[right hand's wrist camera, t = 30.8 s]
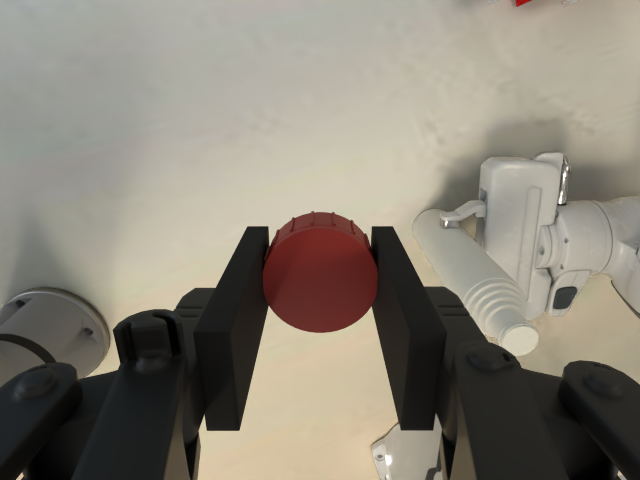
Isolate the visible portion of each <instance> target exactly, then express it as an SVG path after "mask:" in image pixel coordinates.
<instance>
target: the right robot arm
mask: <svg viewBox="0 0 640 480" xmlns="http://www.w3.org/2000/svg"><path fill="white" fill-rule="evenodd" d="M268 246H269V231H268V226H248V227H247V228H246V230H245V232H244V234H243V236H242V238H241V240H240V242H239V244H238V246H237V248H236V250H235V252H234V254H233V256H232V258H231V259H230V261H229V263H228V265H227V267H226V269H225V271H224V273H223V275H222V277H221V279H220V281H219V283H218V285H217V287H216V288H195V289H193V290H192V291H190V292H189V293H187V294H186V295H184V296H183V297H182V299H181V300H180V302H179V303H178V305H177V306H176V309H174V311H170V310H166V309H154V310H148V311H143V312H139V313H137V314H134V315H131V316H129V317H127V318H126V319H124V320H123V321H121V322H119V323H118V325H117V326H116V327H115V328H114V329H113V333H114V337H115V342H116V346H117V350H118V355H119V359H120V363H121V364H120V366H119V368H118V370H116V371H113V372H109V373H105V374H101V375H96V376H91V377H86V376H88V375H89V374H90V373H92V372H93V371H94V370H95V369H96V368H97V367H98V366H99V365H100V363H101V362H102V361H103V360H104V358H105V357H106V355H107V353H108V350H109V344H110V339H109V332H108V329H107V326H106V324H105V322H104V320H103V319H102V317H101V316H100V315H99V313H98V312H97V311H96V310H95V309H94V308H93V307H92V306H91V305H90V304H89V303H87V302H86V301H85V300H83V299H82V298H80V297H78V296H76V295H74V294H72V293H69V292H67V291H64V290H60V289H56V288H45V287H43V288H34V289H29V290H26V291H24V292H22V293H20V294H18V295H17V296H15V297H14V298H13V299H11V300H10V301H8V302H7V303H6V304H5V305H4V306H3V307H2V308H1V310H0V480H16V479H17V478H18V476H19V475H20V474H21V473H23V475H24V477H23V478H22V479H21V480H197V478H198V468H199V459H200V449H201V445H200V438H199V432H198V431H199V428H200V425H201V422H202V419H203V416H204V414H205V420H206V427H207V431H239V430H240V426H241V422H242V417H243V413H244V409H245V405H246V400H247V396H248V392H249V387H250V383H251V379H252V375H253V370H254V366H255V362H256V357H257V353H258V349H259V345H260V340H261V336H262V332H263V327H264V323H265V319H266V315H267V310H268V306H269V305H268V303H267V301H266V299H265V296H264V289H263V268H264V264H265V262H264V258H265V255H266V252H267V249H268ZM371 249H372V252H373V256H374V259H375V262H376V265H377V269H378V277H377V293H376V298H375V300H374V302H373V304H372V309H373V314H374V318H375V322H376V326H377V331H378V335H379V339H380V344H381V348H382V352H383V356H384V361H385V365H386V369H387V373H388V378H389V382H390V386H391V391H392V395H393V399H394V403H395V408H396V412H397V416H398V421H399V425H400V429H401V431H433V429H434V422H435V415H436V414H437V417H438V419H439V422H440V425H441V428H442V432H441V438H440V445H439V451H438V458H437V465H436V471H437V472H441V467H442V477H443V480H621V479H620V478H619V477H618V475H617V474H618V471H620V472H621V473H622V474H623V475H624V477H625V478H626V479H627V480H640V385H639V384H638V383H637V382H636V381H634V380H633V379H632V378H630V377H629V376H627V375H626V374H624V373H623V372H621V371H619V370H616V369H614V368H612V367H610V366H608V365H605V364H600V363H597V362H592V361H581V360H580V361H575V362H570V363H569V364H568V365H567V366H565V367H564V370H563V374H562V377H557V376H553V375H548V374H543V373H538V372H534V371H530V370H526V369H523V368H521V365H520V363H519V362H518V360H517V359H516V358H515V356H514V355H513V354H511V353H510V352H509V351H507V350H506V349H504V348H502V347H500V346H498V345H495V344H493V343H489V342H488V341H487V339H486V338H485V336H484V335H483V333H482V332H481V330H480V329H479V327H478V326H477V324H476V322H475V321H474V319H473V318H472V316H470V313H469V312H468V310H467V309H466V308H465V307H464V304H463V303H462V301H461V300H460V298H459V297H458V295H456V294H455V293H454V292H452V291H451V290H449V289H448V288H446V287H424V286H423V284H422V282H421V280H420V278H419V276H418V274H417V273H416V271H415V269H414V267H413V265H412V263H411V261H410V259H409V257H408V255H407V253H406V251H405V249H404V247H403V245H402V243H401V242H400V240H399V238H398V236H397V234H396V232H395V230H394V228H393V226H372V235H371ZM85 377H86V378H85Z"/></svg>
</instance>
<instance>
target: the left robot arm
mask: <svg viewBox="0 0 640 480" xmlns="http://www.w3.org/2000/svg"><path fill="white" fill-rule="evenodd" d="M562 163H563V164H562ZM570 174H571V164H568V160H567V157H566V156H565V155H564V154H563V153H561V152H559V151H547V152H540V153H538V154H536V155H534V156H533V157H532V158H525V157H511V156H497V157H490V158H488V159H487V160H486V161H485V162H483V163H482V165H481V170H480V185H479V199H478V200H471V201H468V202H466V203H465V204H463V205H462V206H460V207H459V208H457V209H456V210H455V211H450V212H441V213H440V226H441V227H442V228H443V229H449V228H459V221H461V220H463V219H465V218H467V217H468V216H470V215H472V214H473V215H474V216H475V217H477V228H476V242H477V243H478V244H479V245H480V246H481V247H482V248H483V250H484V251H485V252H486V253H487V254H488V255H489V256H490V257H491V258H492V259H493V260H494V261H495V262H496V263H497V264H498V265H499V266H500V267H501V268H502V269H503V270H504V271H505V272H506V273H507V274H508V275H509V276H510V277H511V278H512V279H513V280H514V281H515V282H516V283H517V284H518V285H519V286H520V287H521V289H522V290H523V293H524V295H525V298H526V302H527V312H526V320H527V321H530V320H533V319H536V318H538V317H539V316H540V315H542V314H543V312H544V311H545V312H546V313H547V314H549V315H550V316H552V317H560V316H564V315H565V314H566V313H567V312H568V311H569V309H570V307H571V305H572V303H573V302H574V300H575V298H576V296H577V295H578V293H579V291H580V290H581V288H582V287H583V286H584V284H585V283H586V282H587V280H588V279H589V278H590V276H593V275H598V274H604V275H607V276H609V277H610V278H611V279H612V280H611V283H612V285H613V287H614V288H615V290H616V291H617V293H618V294H619V295H620V297H621V298H622V299H623V301H624V302H625V303H626V304H627V305H628V307H629V308H630V309H631V310H632V311H633V312H634V314H635V315H636V316H637V317H638V318H639V319H640V196H629V197H620V198H616V199H613V200H610V201H607V202H599V201H595V200H577V201H567V194H568V180H569V176H570ZM441 432H442V428H441V425H440V422H439V419H438V417H437V414H436V415H435V422H434V429H433V431H401V429H400V425H399V424H397V425H396V426H395V427H394V428H393V429H392V430H391V431H390V432H389V433H388V434H387V436H385V437H384V438H383V439H381V440H379V441H377V442H375V443H374V444H373V445H372V446H371V451H372V455H373V458H374V461H375V464H376V467H377V470H378V474H379V477H380V480H443V477H442V467H441V472H437V471H436V465H437V458H438V451H439V445H440V438H441Z"/></svg>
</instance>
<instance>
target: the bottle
mask: <svg viewBox="0 0 640 480" xmlns="http://www.w3.org/2000/svg"><path fill="white" fill-rule="evenodd" d="M441 212H445V211H443V210H440V209H429V210H426V211H424V212H422V213H421V214H420V215H419V216H418V217H417V218H416V219H415V221H414V223H413V226H412V234H413V237H414V239H415V241H416V242H417V244H418V246H419V247H420V249H421V250H422V252H423V254H424V255H425V257H426V259H427V260H428V262H429V264H430V265H431V267H432V269H433V270H434V272H435V274H436V275H437V277H438V279H439V280H440V282H441V283H442V285H443V287H446V288H448V289H449V290H451V291H452V292H454V293H455V294H456V295H458V297H459V298H460V300H461V301H462V303H463V304H464V307H465V308H466V309H467V310H468V312H469V313H470V316H472V318H473V319H474V321H475V322H476V324H477V326H478V327H479V329H480V330H481V332H482V333H483V334H484V335H487V336H490V337H494V338H496V339H497V340H498V342H499V345H500V347H502V348H504V349H506V350H507V351H509V352H510V353H511V354H513V355H514V356H521V355H525V354H527V353H529V352H531V351H532V350H533V349H534V348H535V347H536V345H537V343H538V339H539V338H538V332H537V330H536V329H535V327H533V325H532V324H531V323H529V322H528V321H527V320H526V312H527V302H526V298H525V295H524V293H523V290H522V289H521V287H520V286H519V285H518V284H517V283H516V282H515V281H514V280H513V279H512V278H511V277H510V276H509V275H508V274H507V273H506V272H505V271H504V270H503V269H502V268H501V267H500V266H499V265H498V264H497V263H496V262H495V261H494V260H493V259H492V258H491V257H490V256H489V255H488V254H487V253H486V252H485V251H484V250H483V248H482V247H481V246H480V245H479V244H478V243H477V242H476V241H475V240H474V239H473V238H472V237H471V236H470V235H469V234H468V233H467V232H466V231H465V230H464V229H463V228H462V227H461V226H460V225H459V228H449V229H443V228H442V227H441V226H440V213H441Z"/></svg>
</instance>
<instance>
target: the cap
mask: <svg viewBox="0 0 640 480" xmlns="http://www.w3.org/2000/svg"><path fill="white" fill-rule="evenodd" d="M264 262H265V264H264V268H263V289H264V296H265V299H266V301H267V303H268V305H269V306H270V308H271V309H272V310H273V312H274V313H275V314H276V315H277V316H278V317H279V318H280V319H282V320H283V321H284V322H286V323H287V324H289V325H291V326H293V327H295V328H298V329H300V330H304V331H308V332H315V333H325V332H333V331H337V330H340V329H343V328H346V327H348V326H350V325H352V324H353V323H355V322H357V321H358V320H359V319H360V318H362V317H363V316H364V315H365V314H366V313H367V311H368V310H369V309H370V307H371V306H372V304H373V302H374V300H375V298H376V293H377V277H378V269H377V265H376V262H375V259H374V256H373V252H372V249H371V246H370V243H369V240H368V237H367V234H366V233H365V234H364V233H363V232H362V230H361V229H360V228H359V227H358V226H357V225H355V224H354V222H353V220H351V221H350V220H348V219H346V218H344V217H342V216H339V215H336V214H335V213H334V212H332V213H325V212H316V213H314V211H312V212H311V213H309V214H305V215H302V216H299V217H296V218H294V217H293V218H292V220H291V221H289V222H288V223H287V224H285V225H284V226H283V227H282V228H281V229H280V230H277V232H276V235H275V237H274V239H273V241H272V243H271V245H270V246H268V249H267V252H266V255H265V258H264Z"/></svg>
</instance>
